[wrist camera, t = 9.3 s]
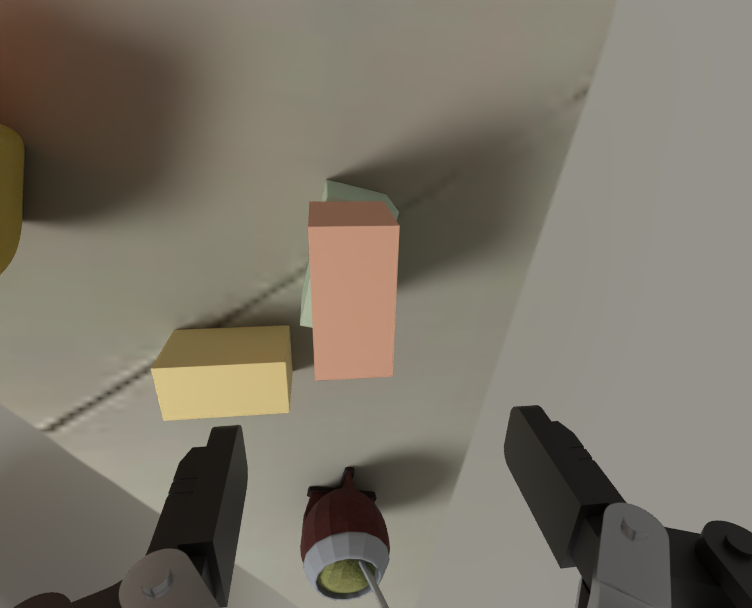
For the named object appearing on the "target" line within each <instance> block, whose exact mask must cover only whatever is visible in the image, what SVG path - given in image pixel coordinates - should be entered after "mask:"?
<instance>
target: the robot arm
mask: <svg viewBox="0 0 752 608" xmlns="http://www.w3.org/2000/svg"><path fill="white" fill-rule="evenodd" d="M504 455H505V459H506V463H507V465H508V467H509V470H510V471H511V473H512V475H513V477H514V479H515V481H516V483H517V485H518V487H519V489H520V491H521V493H522V495H523V497H524V499H525V501H526V502H527V504H528V506H529V508H530V510H531V512H532V514H533V516H534V518H535V520H536V522H537V524H538V526H539V528H540V529H541V531H542V533H543V535H544V537H545V539H546V541H547V543H548V545H549V547H550V549H551V551H552V553H553V555H554V556H555V558H556V560H557V562H558V564H559V566H560V568H569V567H577V569H578V570H579V572H580V574H581V578H580V581H579V586H578V592H577V599H576V605H575V608H752V533H751V532H750V531H748V530H746V529H745V528H742V527H741V526H738V525H736V524H733V523H730V522H726V521H711V522H708V523H707V524H706V525H705V527H704V528H703V530H702V532H701V534H698V533H692V532H688V531H683V530H677V529H672V528H667V527H664V526H663V525H662V524H661V523H660V522H659V521H658V519H656V518H655V517H654V516H653V515H652V514H650V513H649V512H647V511H646V510H644V509H642V508H640V507H638V506H635V505H632V504H628V503H626V501H625V500H624V499H623V498H622V496H621V495H620V494H619V493H618V491H617V490H616V488H615V487H614V486H613V485H612V483H611V482H610V480H609V479H608V478H607V476H606V475H605V474H604V472H603V471H602V470H601V469H600V467H599V466H598V464H597V463H596V462H595V461H594V460H592V457H591V455H590V454H589V453H588V452H587V450H586V449H584V446H583V445H582V443H581V442H580V441H579V439H578V438H577V437H576V436H575V434H574V433H573V432H572V431H570V430H569V429H568V428H566V427H565V426H564V425H562V424H561V423H560V422H558V421H552V422H551V420H550V419H549V418H548V416H547V415H546V413H545V412H544V410H543V409H542V408H541V407H540V406H538V405H534V406H533V405H532V406H518V407H513V408H512V410H511V413H510V418H509V422H508V428H507V433H506V438H505V443H504ZM247 480H248V468H247V459H246V453H245V446H244V439H243V432H242V427H241V425H234V426H219V427H213V428H212V430H211V433H210V436H209V440H208V443H207V446H206V447H194V448H192V449H191V450H190V451H189V452H188V453H187V454H186V456H185V457H184V458H183V459H182V460H181V461H180V463H179V465H178V468H177V471H176V474H175V476H174V479H173V483H172V485H171V487H170V490H169V493H168V494H169V495H168V497H167V499H166V501H165V504H164V507H163V510H162V513H161V515H160V518H159V521H158V524H157V527H156V530H155V533H154V535H153V538H152V541H151V544H150V546H149V549H148V551H147V554H146V555H145V557H143V558H142V559H141V560H139V561H138V562H137V563H136V564H134V565H133V566H132V567H131V569H130V570H129V571H128V572H127V574H126V575H125V577H124V579H123V580H121V581H120V582H118V583H117V584H115V585H113V586H111V587H109V588H107V589H104V590H102V591H99V592H97V593H94V594H92V595H89V596H87V597H84V598H82V599H79V600H77V601H74V602H72V603H71V602H70V600H69V599H68V598H67V597H66V596H65V595H63V594H60V593H54V592H50V593H43V594H39V595H37V596H34V597H31V598H29V599H27V600H25V601H24V602H22V603H20V604H18V605H17V606H16V607H14V608H221V607H227V604H228V597H229V592H230V585H231V580H232V574H233V568H234V562H235V556H236V550H237V544H238V538H239V532H240V526H241V520H242V514H243V508H244V502H245V496H246V490H247Z"/></svg>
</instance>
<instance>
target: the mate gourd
mask: <svg viewBox="0 0 752 608" xmlns="http://www.w3.org/2000/svg"><path fill="white" fill-rule="evenodd" d="M353 475H354V468H352V467H346V468H345V470H344V473H343V476H342V479H341V483H340V485H339V487H338V488H324V487H309V488H308V493H307V496H308V497H310V499H309V502H308V505H307V507H306V510H305V514H304V519H303V527H302V537H301V546H300V547H301V557H302V561H303V568H304V571H305V574H306V577H307V579H308V581H309V583H310V584H311V586H312V587H313V588H314V589H315V590H316V591H317V592H318V593H319V594H321V595H322V596H323V597H326V598H329V599H333V600H351V599H356V598H360V597H362V596H364V595H366V594H368V593H370V592H371V591H373V593H374V596H375V598H376V600H377V602H378V604H379V606H380V608H389V607H388V605H387V603H386V601H385V599H384V597H383V595H382V593H381V591H380V589H379V586H378V585H379V583H380V581H381V579H382V577H383V575H384V573H385V570H386V568H387V565H388V563H389V552H390V545H389V537H388V532H387V528H386V524H385V521H384V519H383V516H382V514H381V512H380V511H379V509H378V508H377V507H376V505H375V503H374V502H375V501H376V495H375V492H368V491H358V490H356V489H355V488H354V484H353V480H352V479H353Z"/></svg>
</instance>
